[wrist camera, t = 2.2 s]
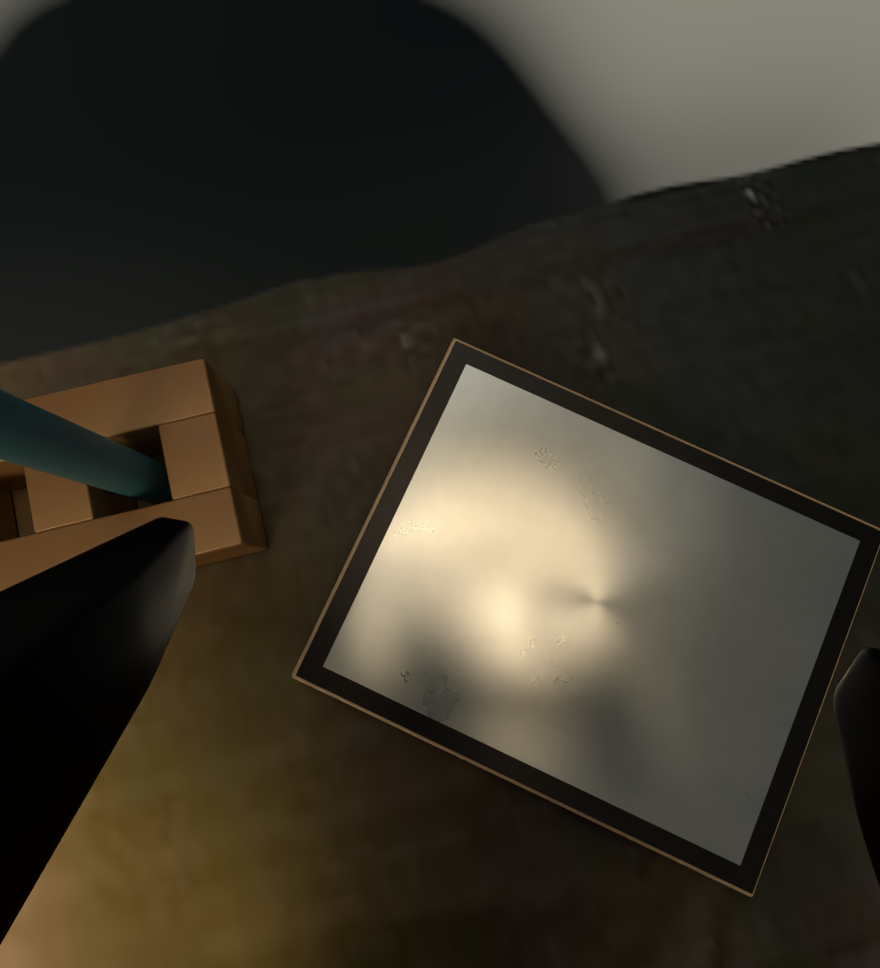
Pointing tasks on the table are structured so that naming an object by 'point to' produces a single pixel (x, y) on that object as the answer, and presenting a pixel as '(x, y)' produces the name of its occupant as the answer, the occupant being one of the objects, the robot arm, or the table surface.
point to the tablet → (595, 613)
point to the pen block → (151, 431)
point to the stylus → (77, 453)
